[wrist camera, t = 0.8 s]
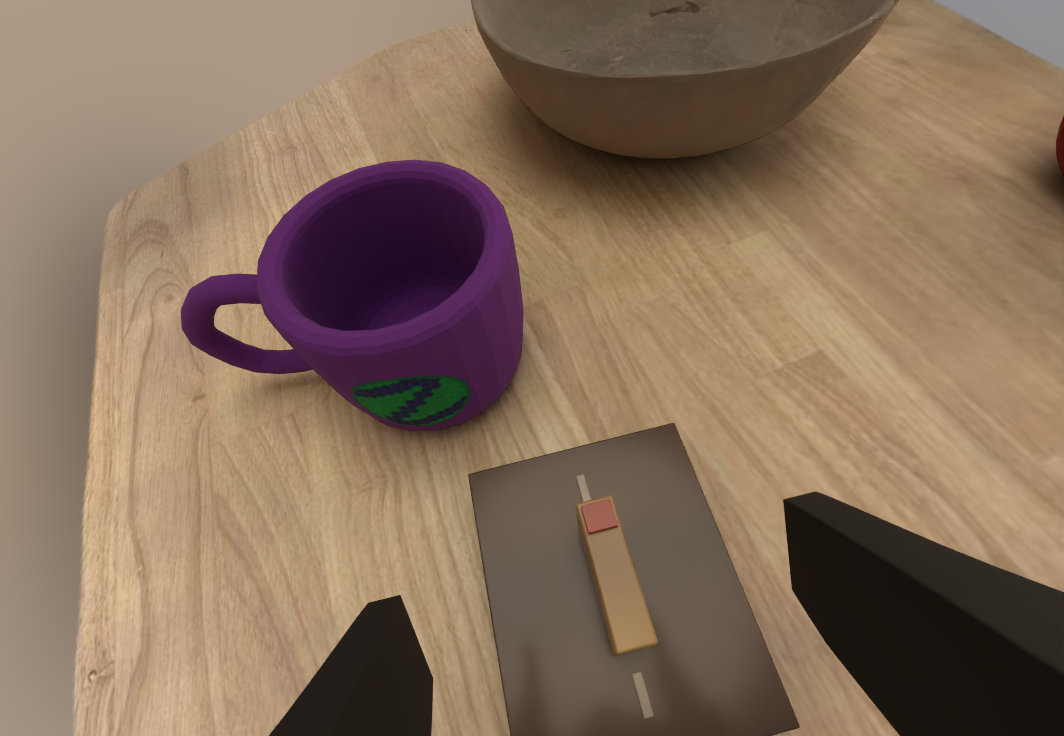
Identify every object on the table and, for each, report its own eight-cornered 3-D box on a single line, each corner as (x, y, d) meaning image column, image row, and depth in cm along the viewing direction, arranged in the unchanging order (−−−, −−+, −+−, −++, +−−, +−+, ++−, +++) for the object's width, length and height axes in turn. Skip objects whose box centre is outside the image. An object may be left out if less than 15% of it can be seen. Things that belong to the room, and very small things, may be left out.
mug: (523, 275, 33) (500, 138, 24) (543, 433, 27) (522, 327, 18) (267, 313, 33) (156, 193, 25) (232, 476, 28) (72, 392, 19)
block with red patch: (647, 646, 19) (659, 643, 16) (612, 656, 19) (617, 655, 16) (608, 517, 21) (612, 492, 18) (577, 525, 21) (575, 501, 18)
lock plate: (773, 719, 20) (802, 728, 17) (530, 785, 20) (520, 805, 17) (665, 445, 26) (674, 420, 23) (479, 492, 26) (466, 472, 23)
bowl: (912, 171, 34) (1021, 8, 26) (520, 249, 34) (497, 111, 26) (753, -9, 48) (788, -153, 40) (475, 46, 48) (450, -87, 40)
